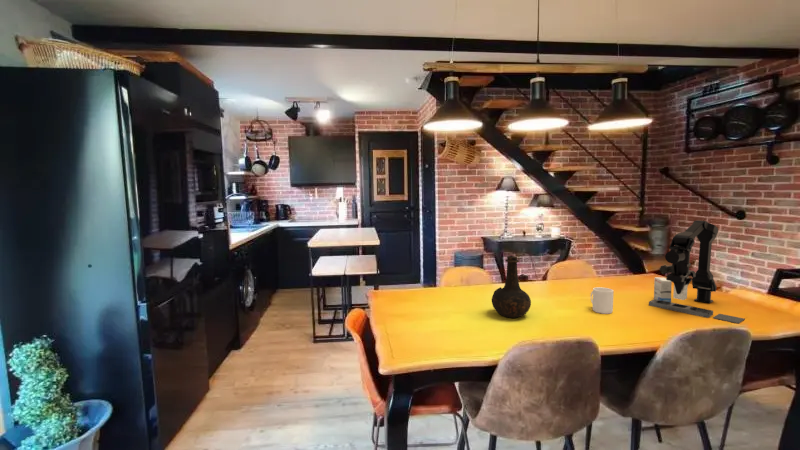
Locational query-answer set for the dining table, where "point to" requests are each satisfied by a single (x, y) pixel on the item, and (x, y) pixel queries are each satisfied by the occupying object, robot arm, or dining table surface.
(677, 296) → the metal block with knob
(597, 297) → the mug
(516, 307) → the glass bottle
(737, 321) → the mat
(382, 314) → the dining table surface
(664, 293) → the ink box
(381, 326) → the dining table surface
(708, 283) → the robot arm
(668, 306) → the grey metal frame
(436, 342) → the dining table surface
